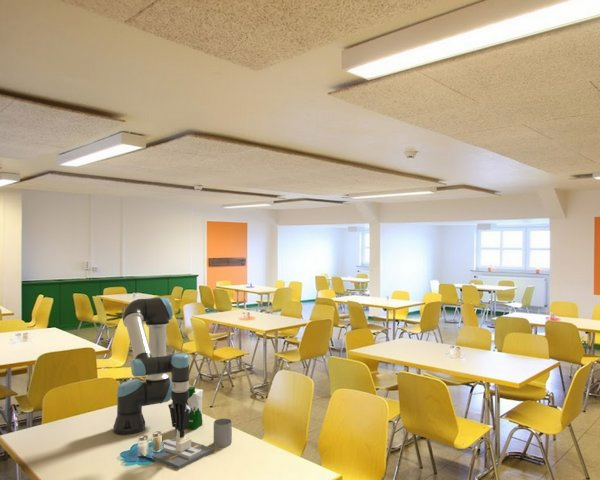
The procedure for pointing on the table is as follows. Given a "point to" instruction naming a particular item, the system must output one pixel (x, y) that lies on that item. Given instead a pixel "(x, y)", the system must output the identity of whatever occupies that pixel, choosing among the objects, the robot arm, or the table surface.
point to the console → (181, 454)
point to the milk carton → (195, 407)
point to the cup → (222, 432)
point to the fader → (183, 444)
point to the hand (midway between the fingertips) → (180, 444)
